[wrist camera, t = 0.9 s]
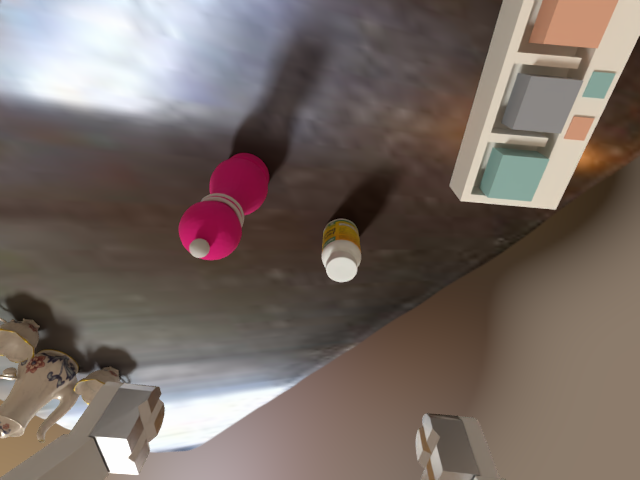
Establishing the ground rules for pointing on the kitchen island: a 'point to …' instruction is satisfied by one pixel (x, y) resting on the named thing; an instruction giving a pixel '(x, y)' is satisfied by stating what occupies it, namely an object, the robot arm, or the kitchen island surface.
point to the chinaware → (41, 380)
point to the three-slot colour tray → (552, 60)
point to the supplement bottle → (341, 250)
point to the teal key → (513, 174)
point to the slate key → (540, 102)
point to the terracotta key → (572, 22)
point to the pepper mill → (225, 207)
